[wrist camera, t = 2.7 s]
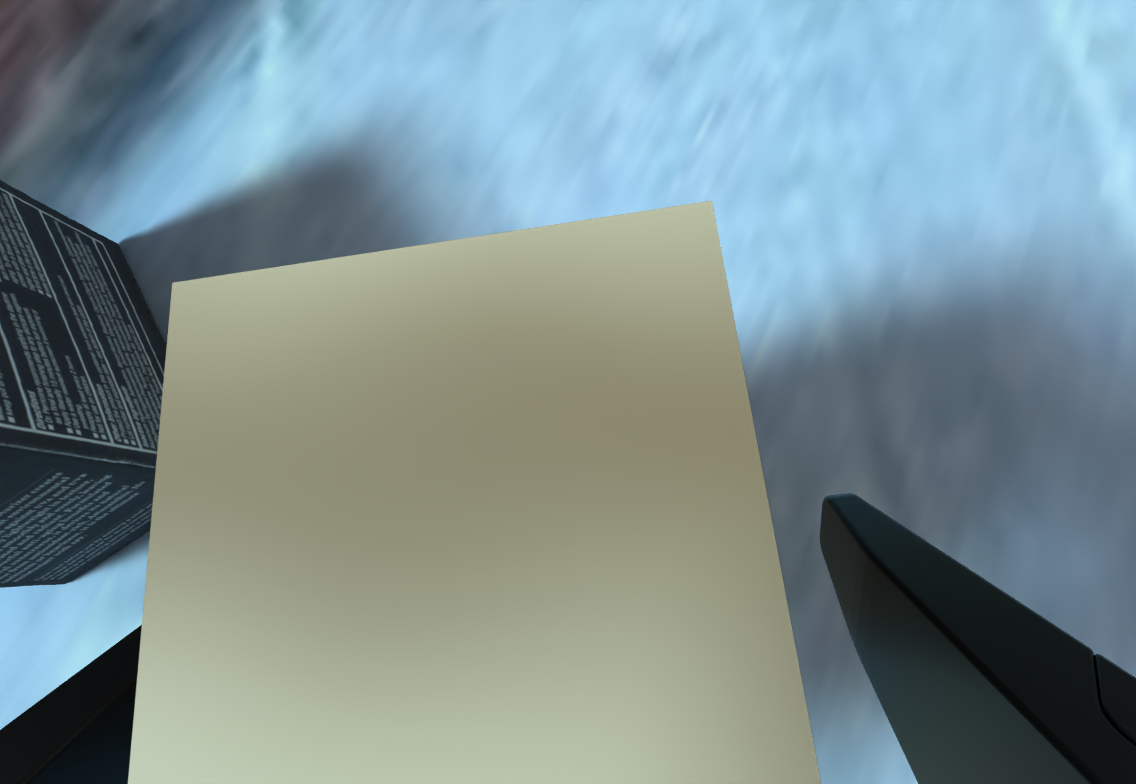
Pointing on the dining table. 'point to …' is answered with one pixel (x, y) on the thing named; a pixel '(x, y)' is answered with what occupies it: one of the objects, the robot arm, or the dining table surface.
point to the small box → (71, 397)
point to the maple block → (467, 523)
